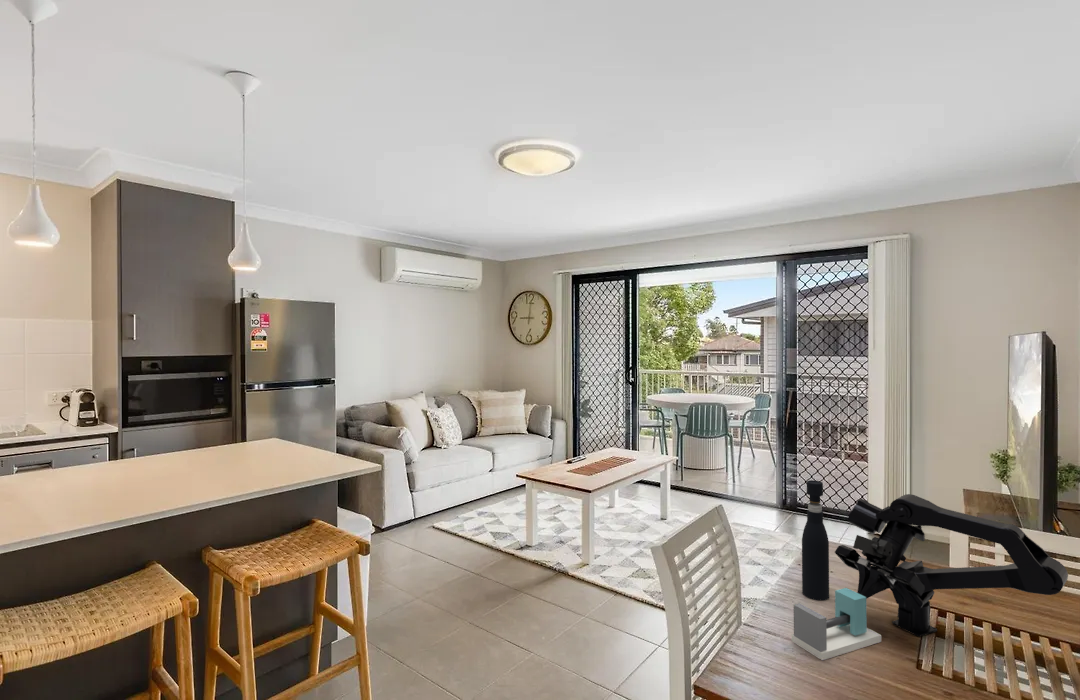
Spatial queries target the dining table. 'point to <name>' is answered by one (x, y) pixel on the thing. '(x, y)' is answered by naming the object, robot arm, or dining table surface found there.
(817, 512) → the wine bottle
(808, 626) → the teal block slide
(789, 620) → the dining table surface
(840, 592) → the teal block on rod
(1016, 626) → the dining table surface
